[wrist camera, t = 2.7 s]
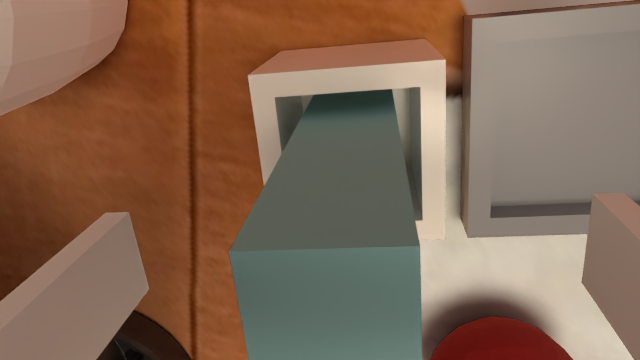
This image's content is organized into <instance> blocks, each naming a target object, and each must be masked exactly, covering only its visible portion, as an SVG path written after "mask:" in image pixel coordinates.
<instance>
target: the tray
mask: <svg viewBox="0 0 640 360" xmlns="http://www.w3.org/2000/svg"><path fill="white" fill-rule="evenodd" d="M603 193H625V194H626V195H627V196H628V197H630V198H631V199H632V200H633V201H634V202H635V203H637V204H638V205H639V206H640V0H634V1H623V2H611V3H601V4H589V5H580V6H567V7H556V8H545V9H534V10H523V11H512V12H501V13H490V14H478V15H467V16H464V17H463V86H462V155H461V221H462V223H463V226H464V229H465V231H466V234H467V237H468V238H475V237H506V236H536V235H567V234H588V229H589V221H590V212H591V204H592V196H593V194H603Z"/></svg>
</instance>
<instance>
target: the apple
mask: <svg viewBox="0 0 640 360" xmlns="http://www.w3.org/2000/svg"><path fill="white" fill-rule="evenodd" d="M430 360H573V359H572V358H571V357H570V356H569V354H568V353H567V352H566V351H565V350H564V349H563V348H562V347H561V346H560V345H559V344H557V343H556V342H555V341H554V340H553V339H551V338H550V337H549V336H548V335H547V334H545V333H544V332H543V331H541V330H540V329H538V328H537V327H534V326H532V325H530V324H527V323H525V322H523V321H519V320H514V319H509V318H503V317H497V316H494V317H484V318H481V319H478V320H475V321H472V322H469V323H466V324H463V325H461V326H460V327H458V328H456V329H455V330H454V331H452V332H451V333H450V334H449V335H447V336H446V337H445V338H444V339H443V340H442V341H441V342H440V344H439V345H438V346H437V348H436V349H435V351H434V353H433V355H432V357H431V359H430Z"/></svg>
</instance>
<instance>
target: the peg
mask: <svg viewBox="0 0 640 360" xmlns="http://www.w3.org/2000/svg"><path fill="white" fill-rule="evenodd" d="M229 257H230V262H231V267H232V273H233V278H234V284H235V289H236V294H237V300H238V305H239V310H240V316H241V321H242V326H243V332H244V337H245V343H246V348H247V353H248V359H249V360H422V324H421V275H420V244H419V238H418V232H417V227H416V221H415V216H414V210H413V204H412V199H411V193H410V188H409V182H408V177H407V171H406V165H405V160H404V154H403V149H402V143H401V137H400V132H399V126H398V121H397V115H396V109H395V104H394V98H393V93H392V89H383V90H369V91H355V92H342V93H328V94H314V95H313V97H312V99H311V101H310V103H309V104H308V106H307V108H306V110H305V112H304V114H303V115H302V117H301V119H300V121H299V123H298V125H297V127H296V128H295V130H294V132H293V134H292V136H291V138H290V139H289V141H288V143H287V145H286V147H285V149H284V151H283V152H282V154H281V156H280V158H279V160H278V162H277V163H276V165H275V167H274V169H273V171H272V173H271V174H270V176H269V178H268V180H267V182H266V184H265V186H264V187H263V189H262V191H261V193H260V195H259V197H258V198H257V200H256V202H255V204H254V206H253V208H252V210H251V211H250V213H249V215H248V217H247V219H246V221H245V222H244V224H243V226H242V228H241V230H240V232H239V234H238V235H237V237H236V239H235V241H234V243H233V245H232V246H231V248H230V250H229Z"/></svg>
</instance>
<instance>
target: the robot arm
mask: <svg viewBox="0 0 640 360" xmlns="http://www.w3.org/2000/svg"><path fill="white" fill-rule="evenodd" d="M582 283H583V285H584V286H585V288H586V289H587V291H588V292H589V294H590V295H591V297H592V298H593V300H594V301H595V302H596V304H597V305H598V307H599V308H600V310H601V311H602V313H603V314H604V316H605V317H606V319H607V320H608V322H609V323H610V325H611V326H612V327H613V329H614V330H615V332H616V333H617V335H618V336H619V338H620V339H621V341H622V342H623V344H624V345H625V347H626V348H627V350H628V351H629V353H630V354H631V355H632V357H633V358H634V360H640V206H639V205H638V204H637V203H635V202H634V201H633V200H632V199H631V198H630V197H628V196H627V195H626V194H625V193H603V194H593V196H592V204H591V212H590V221H589V229H588V237H587V245H586V253H585V261H584V269H583V277H582ZM148 290H149V285H148V282H147V278H146V274H145V270H144V267H143V263H142V259H141V255H140V252H139V248H138V244H137V240H136V237H135V233H134V229H133V225H132V221H131V218H130V214H129V212H112V213H105V214H103V215H102V216H101V217H100V218H99V219H97V220H96V221H95V222H94V223H93V224H91V225H90V226H89V227H88V228H87V229H86V230H84V231H83V232H82V233H81V234H80V235H78V236H77V237H76V238H75V239H74V240H73V241H71V242H70V243H69V244H68V245H67V246H65V247H64V248H63V249H62V250H61V251H59V252H58V253H57V254H56V255H55V256H54V257H52V258H51V259H50V260H49V261H48V262H46V263H45V264H44V265H43V266H42V267H40V268H39V269H38V270H37V271H36V272H35V273H33V274H32V275H31V276H30V277H29V278H27V279H26V280H25V281H24V282H23V283H21V284H20V285H19V286H18V287H17V288H16V289H14V290H13V291H12V292H11V293H10V294H8V295H7V296H6V297H5V298H4V299H2V300H1V301H0V360H190V359H189V357H188V356H187V354H186V353H185V351H184V350H183V349H182V347H181V346H180V345H179V344H178V343H177V342H176V341H175V340H174V339H173V338H172V337H171V336H170V335H169V334H168V333H167V332H166V331H165V330H163V329H162V328H161V327H159V326H158V325H156V324H155V323H154V322H152V321H150V320H149V319H147V318H145V317H143V316H142V315H140V314H137V313H135V312H133V310H134V309H135V307H136V306H137V305H138V303H139V302H140V301H141V299H142V298H143V297H144V295H145V294H146V293H147V291H148Z"/></svg>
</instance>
